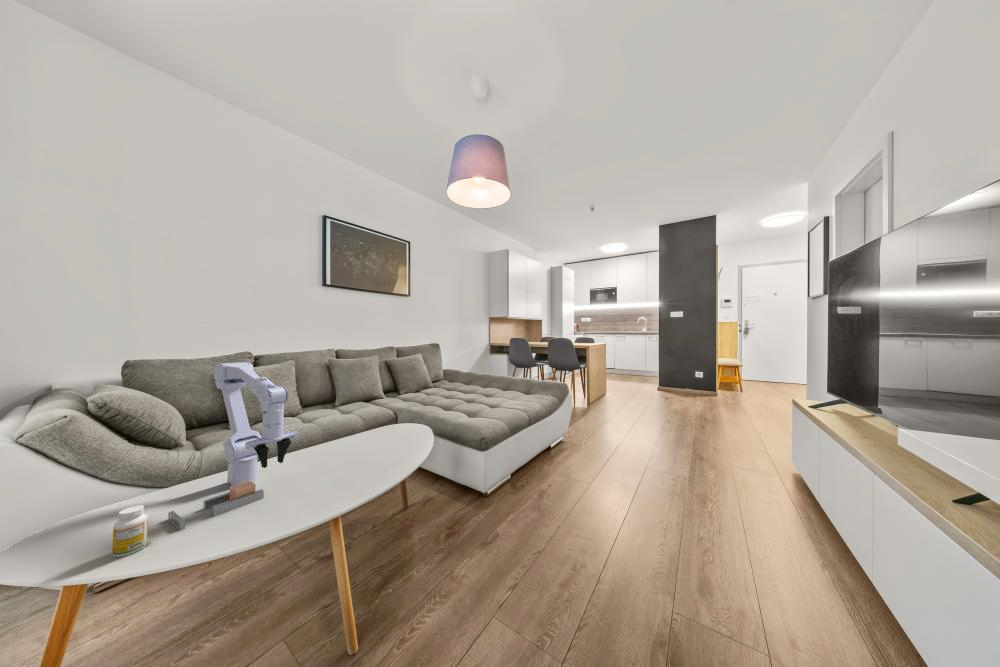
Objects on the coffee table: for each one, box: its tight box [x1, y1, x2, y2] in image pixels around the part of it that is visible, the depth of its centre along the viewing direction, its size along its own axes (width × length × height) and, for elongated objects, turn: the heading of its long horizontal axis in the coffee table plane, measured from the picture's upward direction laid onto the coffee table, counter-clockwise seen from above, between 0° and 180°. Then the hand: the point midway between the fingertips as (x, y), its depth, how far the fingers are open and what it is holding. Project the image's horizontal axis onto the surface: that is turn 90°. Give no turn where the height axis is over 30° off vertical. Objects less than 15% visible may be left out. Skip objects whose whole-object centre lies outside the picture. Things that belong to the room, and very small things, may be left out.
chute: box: [167, 488, 265, 532], centre depth 92 cm, size 10×22×4 cm, turn 149°
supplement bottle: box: [111, 504, 149, 558], centre depth 74 cm, size 5×5×10 cm
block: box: [229, 481, 256, 500], centre depth 96 cm, size 4×5×4 cm
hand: (272, 464), depth 103 cm, fingers open, 4 cm apart
